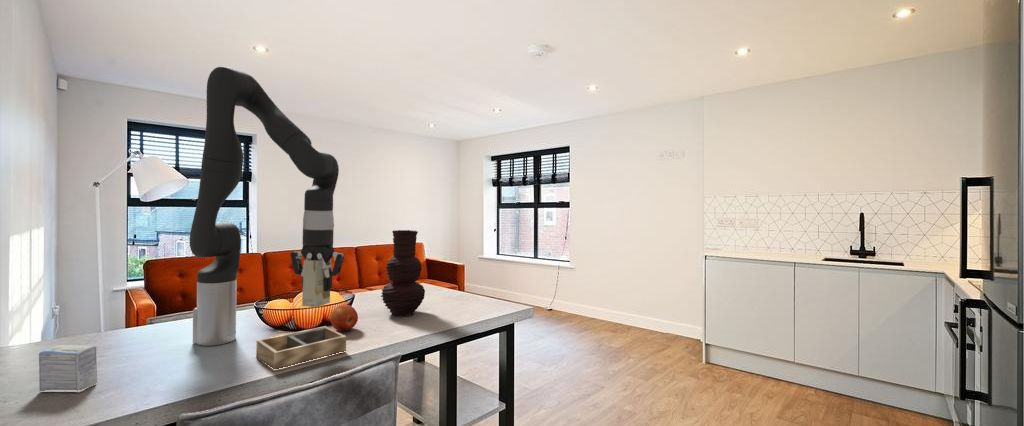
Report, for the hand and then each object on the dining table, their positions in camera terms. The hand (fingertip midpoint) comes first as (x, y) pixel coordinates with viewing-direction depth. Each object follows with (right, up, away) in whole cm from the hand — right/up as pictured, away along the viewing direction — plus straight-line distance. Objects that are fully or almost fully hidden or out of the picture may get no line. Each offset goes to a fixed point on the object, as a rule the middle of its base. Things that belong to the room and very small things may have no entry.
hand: (317, 290), depth 116 cm
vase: (+13, -16, +40) cm, 45 cm away
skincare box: (0, -4, 0) cm, 4 cm away
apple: (0, -16, +19) cm, 25 cm away
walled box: (-3, -17, -2) cm, 17 cm away
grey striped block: (-41, -16, -25) cm, 51 cm away
